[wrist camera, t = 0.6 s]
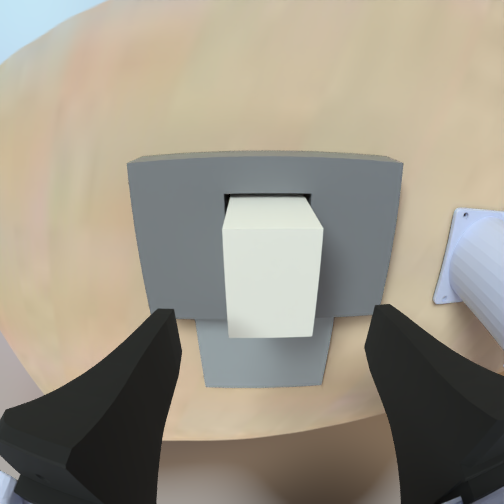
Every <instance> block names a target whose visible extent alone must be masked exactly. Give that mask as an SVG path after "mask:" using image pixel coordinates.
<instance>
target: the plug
mask: <svg viewBox="0 0 504 504" xmlns="http://www.w3.org/2000/svg"><path fill="white" fill-rule="evenodd" d="M222 237H223V256H224V274H225V290H226V306H227V320H228V335H229V338H282V337H310V336H312V334H313V326H314V318H315V310H316V301H317V292H318V283H319V273H320V263H321V252H322V241H323V227H322V225H321V224H320V222H319V220H318V218H317V217H316V215H315V213H314V212H313V210H312V208H311V207H310V205H309V203H308V202H307V200H306V198H305V197H304V195H303V193H239V194H231V196H230V200H229V204H228V208H227V212H226V216H225V220H224V224H223V228H222Z"/></svg>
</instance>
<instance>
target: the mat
mask: <svg viewBox="0 0 504 504" xmlns="http://www.w3.org/2000/svg"><path fill="white" fill-rule="evenodd" d="M333 321H334V317H327V318H314V326H313V334H312V336H310V337H282V338H229V335H228V320H218V319H195V322H196V329H197V335H198V342H199V349H200V355H201V361H202V367H203V373H204V379H205V385H206V387H222V388H269V387H296V386H313V385H321V384H322V379H323V375H324V370H325V365H326V360H327V355H328V349H329V344H330V339H331V333H332V327H333Z"/></svg>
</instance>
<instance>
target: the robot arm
mask: <svg viewBox="0 0 504 504" xmlns="http://www.w3.org/2000/svg"><path fill="white" fill-rule="evenodd" d="M465 213H466V215H465V216H464V217H463V215H464V214H465ZM444 296H445V297H444ZM443 297H444V298H443ZM442 298H443V299H442ZM433 301H434V302H435V303H436V304H445V303H454V302H464V303H465V304H466V305H467V306H468V308H469V309H470V310H471V311H472V312H473V313H474V315H475V316H476V317H477V318H478V319H479V320H480V322H481V323H482V324H483V325H484V327H485V328H486V329H487V330H488V331H489V333H490V334H491V335H492V336H493V338H494V339H495V340H496V341H497V343H498V344H499V345H500V347H501V348H502V349H503V350H504V211H495V210H484V209H473V208H461V207H459V208H457V209H456V210H455V211H454V214H453V220H452V225H451V230H450V234H449V239H448V244H447V248H446V252H445V256H444V260H443V264H442V268H441V272H440V276H439V279H438V283H437V286H436V290H435V293H434V296H433ZM364 348H365V352H366V356H367V361H368V365H369V369H370V372H371V374H372V377H373V380H374V382H375V385H376V387H377V390H378V393H379V395H380V398H381V400H382V403H383V406H384V408H385V411H386V414H387V417H388V420H389V423H390V427H391V431H392V436H393V441H394V445H395V451H396V457H397V463H398V471H399V480H400V491H401V492H400V493H401V504H504V376H502V375H500V374H497V373H495V372H492V371H490V370H488V369H486V368H484V367H481V366H479V365H477V364H475V363H474V362H472V361H470V360H468V359H466V358H465V357H463V356H461V355H459V354H458V353H456V352H455V351H453V350H451V349H450V348H448V347H447V346H446V345H444V344H443V343H441V342H440V341H438V340H437V339H436V338H434V337H433V336H431V335H430V334H429V333H427V332H426V331H425V330H423V329H422V328H421V327H420V326H418V325H417V324H416V323H414V322H413V321H412V320H411V319H409V318H408V317H407V316H405V315H404V314H403V313H401V312H400V311H399V310H397V309H396V308H395V307H393V306H392V305H390V304H384V305H375V307H374V311H373V315H372V319H371V323H370V327H369V331H368V335H367V339H366V343H365V347H364ZM181 355H182V349H181V344H180V338H179V333H178V328H177V323H176V317H175V311H174V309H162V308H158V309H157V310H156V311H155V312H154V313H152V314H151V315H150V316H149V317H148V318H147V319H146V320H145V321H144V322H143V323H142V324H141V325H140V326H139V327H138V328H137V329H136V330H135V331H134V332H133V333H132V334H131V335H130V336H129V337H128V338H127V339H126V340H125V341H124V342H123V343H122V344H120V345H119V346H118V347H117V348H116V349H115V350H113V351H112V352H111V353H110V354H109V355H108V356H107V357H105V358H104V359H103V360H102V361H100V362H99V363H98V364H96V365H95V366H94V367H92V368H91V369H89V370H88V371H87V372H85V373H84V374H82V375H81V376H79V377H77V378H76V379H74V380H72V381H71V382H69V383H67V384H65V385H64V386H62V387H60V388H58V389H56V390H54V391H52V392H50V393H48V394H46V395H44V396H42V397H40V398H37V399H35V400H32V401H30V402H27V403H24V404H21V405H19V406H16V407H13V408H9V409H6V410H5V412H4V414H3V416H2V418H1V419H0V455H1V456H2V457H3V458H4V459H5V460H6V461H7V462H8V463H9V464H10V465H11V466H12V467H13V468H14V469H15V470H16V471H18V472H19V473H20V474H21V475H20V477H19V479H18V480H16V479H15V478H13V477H12V476H10V475H8V474H6V473H5V472H2V471H1V470H0V504H156V497H157V481H158V469H159V459H160V451H161V444H162V437H163V431H164V427H165V422H166V419H167V415H168V411H169V408H170V404H171V401H172V397H173V394H174V390H175V386H176V383H177V379H178V375H179V369H180V363H181ZM503 367H504V365H503Z"/></svg>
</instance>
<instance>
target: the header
mask: <svg viewBox="0 0 504 504" xmlns="http://www.w3.org/2000/svg"><path fill="white" fill-rule="evenodd" d="M127 170H128V180H129V188H130V197H131V205H132V212H133V219H134V226H135V233H136V239H137V245H138V251H139V257H140V263H141V268H142V274H143V279H144V284H145V289H146V294H147V299H148V303H149V308H150V312H151V314H152V313H154V312H155V311H156V310H157V309H158V308H162V309H174V311H175V317H176V319H218V320H227V306H226V290H225V274H224V256H223V237H222V228H223V224H224V220H225V216H226V212H227V208H228V194H239V193H304V197H305V198H306V200H307V202H308V203H309V205H310V207H311V208H312V210H313V212H314V213H315V215H316V217H317V218H318V220H319V222H320V224H321V225H322V227H323V241H322V252H321V263H320V273H319V283H318V292H317V301H316V310H315V318H327V317H346V316H363V315H373V311H374V307H375V305H380V304H381V300H382V295H383V291H384V286H385V282H386V277H387V272H388V267H389V262H390V257H391V251H392V245H393V240H394V233H395V227H396V221H397V214H398V206H399V199H400V190H401V181H402V171H403V163H402V162H399V161H397V160H394V159H392V158H389V157H387V156H379V155H366V154H352V153H336V152H313V151H219V152H196V153H179V154H165V155H153V156H142V157H140V158H137V159H135V160H133V161H131V162H129V163H127Z"/></svg>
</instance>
